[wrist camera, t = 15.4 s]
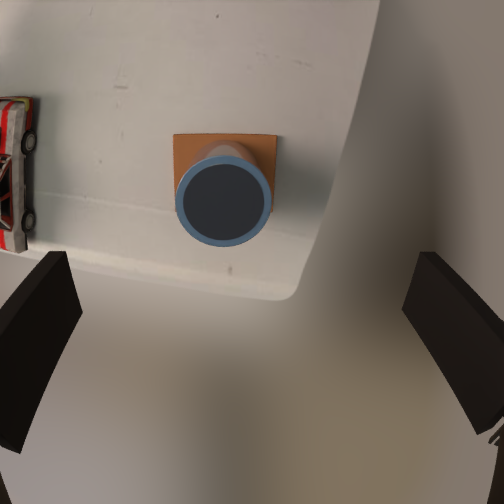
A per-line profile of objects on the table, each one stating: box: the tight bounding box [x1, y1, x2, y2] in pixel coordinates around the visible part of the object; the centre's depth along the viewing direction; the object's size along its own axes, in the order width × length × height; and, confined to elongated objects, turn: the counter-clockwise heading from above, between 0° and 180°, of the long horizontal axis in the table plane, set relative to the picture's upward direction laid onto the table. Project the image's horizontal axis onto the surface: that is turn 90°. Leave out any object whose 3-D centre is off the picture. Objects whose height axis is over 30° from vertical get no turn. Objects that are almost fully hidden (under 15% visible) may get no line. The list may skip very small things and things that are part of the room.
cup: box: [175, 140, 272, 247], centre depth 26 cm, size 7×7×9 cm
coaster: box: [173, 134, 277, 212], centre depth 31 cm, size 10×8×1 cm
